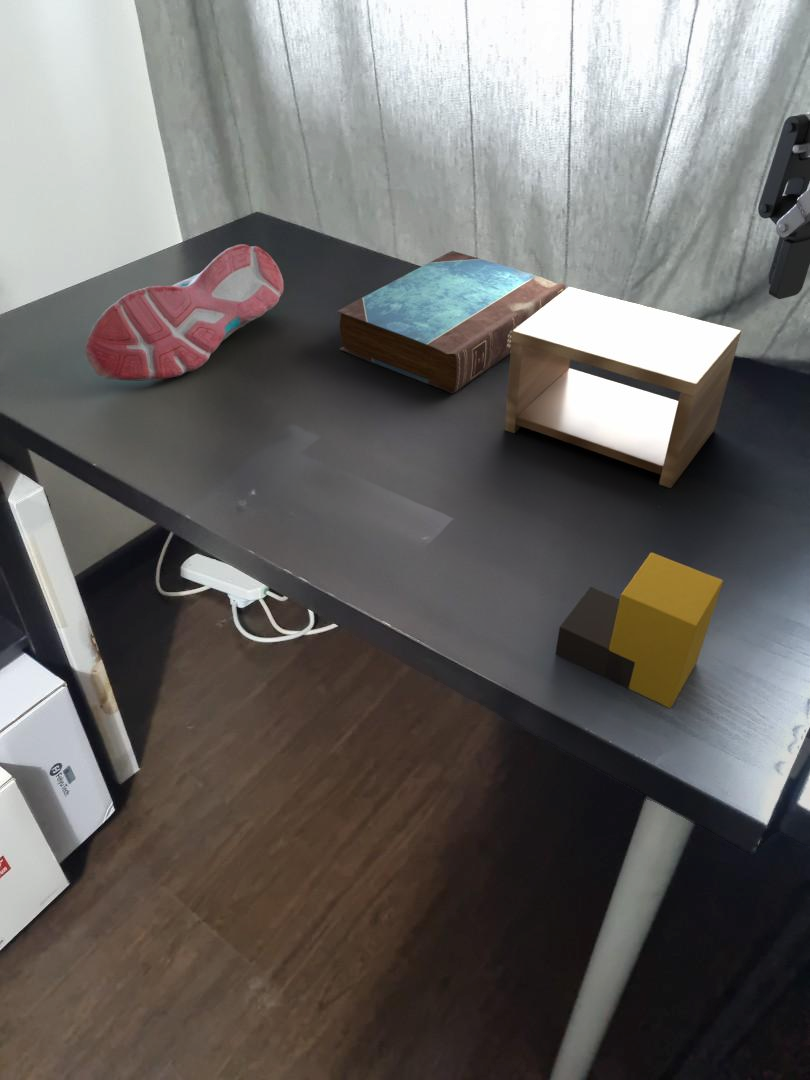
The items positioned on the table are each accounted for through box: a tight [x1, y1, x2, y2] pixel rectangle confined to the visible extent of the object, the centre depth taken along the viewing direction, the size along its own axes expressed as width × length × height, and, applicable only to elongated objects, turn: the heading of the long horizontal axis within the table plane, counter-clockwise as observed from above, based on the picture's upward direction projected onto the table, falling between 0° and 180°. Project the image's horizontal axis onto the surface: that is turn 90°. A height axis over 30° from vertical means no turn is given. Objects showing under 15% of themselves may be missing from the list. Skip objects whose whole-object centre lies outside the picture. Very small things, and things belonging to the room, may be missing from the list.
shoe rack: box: [504, 286, 742, 489], centre depth 82 cm, size 18×12×11 cm, turn 55°
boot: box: [555, 552, 724, 709], centre depth 59 cm, size 9×5×8 cm, turn 55°
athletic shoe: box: [84, 243, 285, 382], centre depth 99 cm, size 27×9×12 cm
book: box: [336, 250, 566, 394], centre depth 100 cm, size 23×18×5 cm
